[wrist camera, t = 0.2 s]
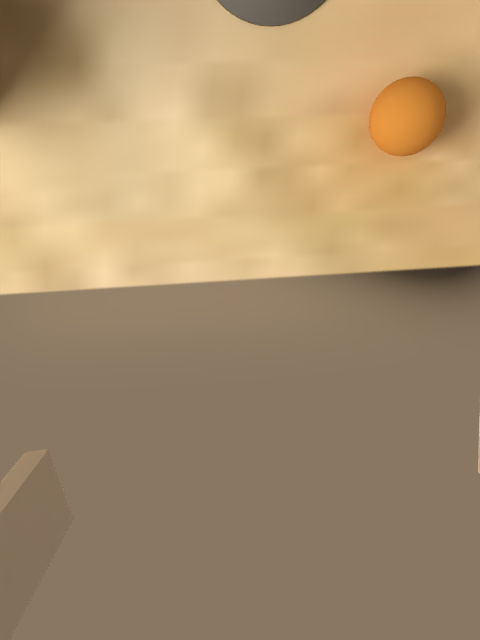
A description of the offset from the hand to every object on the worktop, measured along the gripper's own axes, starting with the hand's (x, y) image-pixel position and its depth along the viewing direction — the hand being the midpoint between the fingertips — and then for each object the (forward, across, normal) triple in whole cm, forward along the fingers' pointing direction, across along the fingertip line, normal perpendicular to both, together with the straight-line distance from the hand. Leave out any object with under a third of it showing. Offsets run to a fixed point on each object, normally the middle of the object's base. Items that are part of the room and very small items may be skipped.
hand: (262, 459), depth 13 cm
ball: (+25, +14, +11) cm, 30 cm away
